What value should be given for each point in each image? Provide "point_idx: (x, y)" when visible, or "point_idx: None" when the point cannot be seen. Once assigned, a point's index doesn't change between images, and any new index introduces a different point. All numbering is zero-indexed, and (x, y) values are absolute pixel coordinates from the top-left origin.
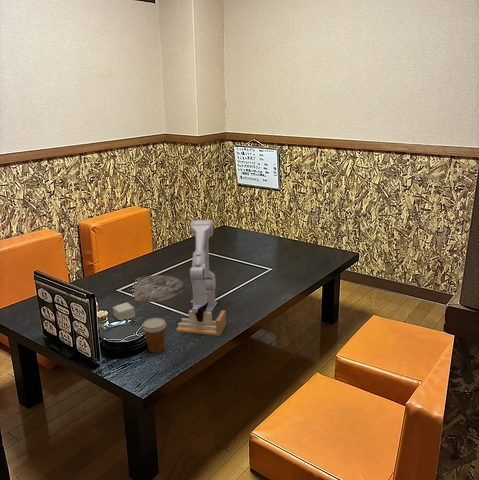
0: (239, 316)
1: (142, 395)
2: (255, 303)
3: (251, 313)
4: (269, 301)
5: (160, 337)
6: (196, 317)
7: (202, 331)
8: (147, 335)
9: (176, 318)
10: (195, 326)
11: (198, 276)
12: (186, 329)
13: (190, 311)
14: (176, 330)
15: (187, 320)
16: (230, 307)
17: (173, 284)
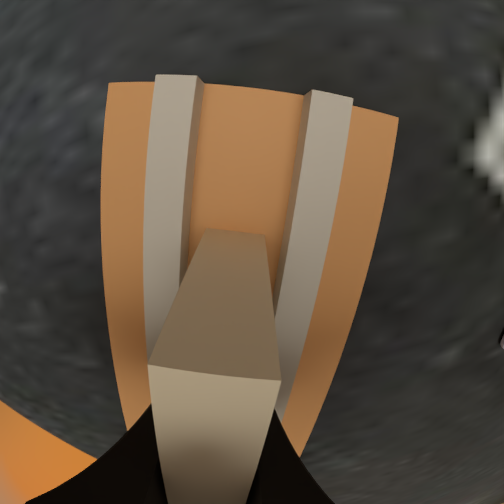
0: (383, 479)
1: None
2: (475, 473)
3: (398, 496)
4: (466, 493)
5: None
6: (142, 416)
7: (120, 369)
8: None
9: (426, 30)
10: (148, 321)
11: None
12: (117, 209)
13: (183, 398)
14: (115, 85)
15: (294, 188)
16: (494, 416)
17: None
